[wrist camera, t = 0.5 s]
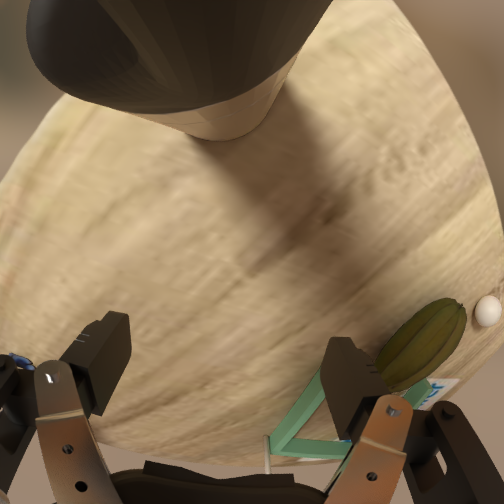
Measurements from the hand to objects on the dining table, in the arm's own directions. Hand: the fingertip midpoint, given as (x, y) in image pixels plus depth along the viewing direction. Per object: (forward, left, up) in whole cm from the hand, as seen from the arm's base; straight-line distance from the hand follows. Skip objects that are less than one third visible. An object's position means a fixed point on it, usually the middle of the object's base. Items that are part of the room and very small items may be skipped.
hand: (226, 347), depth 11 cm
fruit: (+4, +24, -17) cm, 30 cm away
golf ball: (-3, +35, -17) cm, 39 cm away
